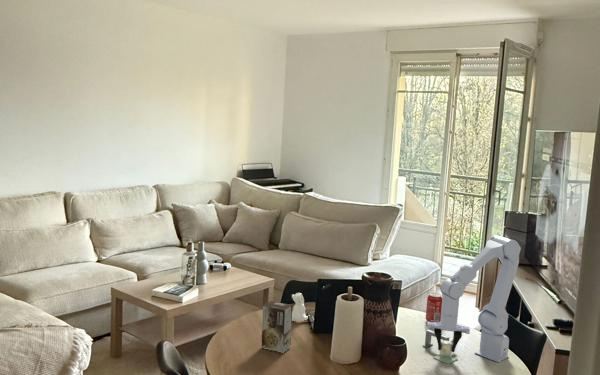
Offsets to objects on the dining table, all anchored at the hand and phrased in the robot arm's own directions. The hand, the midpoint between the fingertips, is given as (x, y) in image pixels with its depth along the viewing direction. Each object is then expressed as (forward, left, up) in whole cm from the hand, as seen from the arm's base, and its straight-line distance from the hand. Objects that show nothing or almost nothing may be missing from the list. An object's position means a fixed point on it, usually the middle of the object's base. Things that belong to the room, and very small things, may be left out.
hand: (446, 350), depth 197 cm
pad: (0, 0, -3) cm, 3 cm away
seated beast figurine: (+58, +17, -4) cm, 61 cm away
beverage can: (+24, -29, -3) cm, 38 cm away
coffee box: (+43, +43, -3) cm, 61 cm away
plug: (+1, -3, -2) cm, 4 cm away
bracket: (+7, -5, -3) cm, 9 cm away
